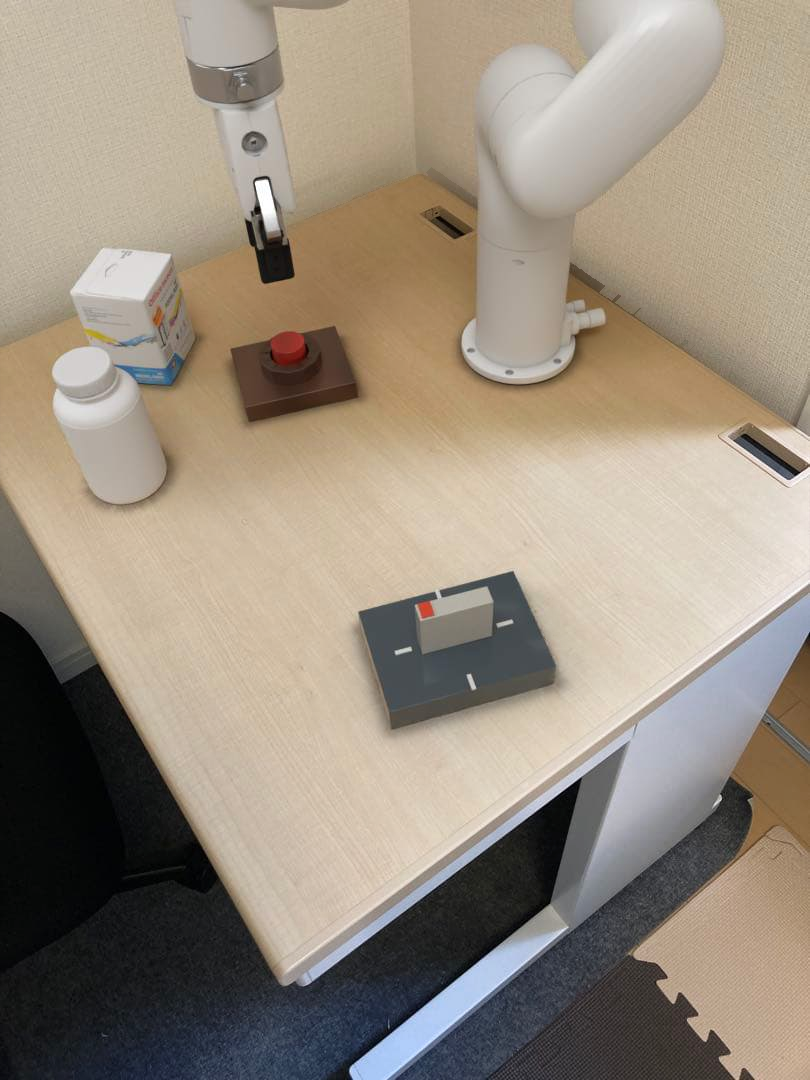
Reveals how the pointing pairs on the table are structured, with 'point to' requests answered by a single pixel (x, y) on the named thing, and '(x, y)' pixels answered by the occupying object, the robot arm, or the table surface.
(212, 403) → the table surface
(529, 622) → the rotary knob panel
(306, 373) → the button block
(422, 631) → the beige rectangular block
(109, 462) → the pill bottle
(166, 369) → the ink box
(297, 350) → the button
